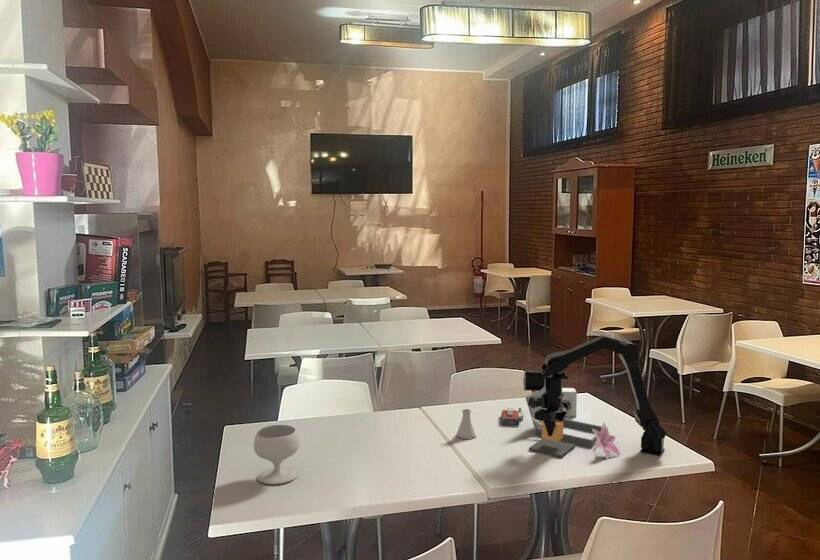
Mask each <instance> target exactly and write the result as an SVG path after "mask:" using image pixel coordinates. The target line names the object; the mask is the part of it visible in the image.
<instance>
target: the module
mask: <svg viewBox="0 0 820 560" xmlns="http://www.w3.org/2000/svg"><path fill="white" fill-rule="evenodd" d="M563 434H564V426H563V421H559V420H557V423H556V425H555V428H554V431H553V434H552V436H548V433H547V430H546V426H545V423H544V421H542V436H541V439H542V438H543V439H548V440H552V441H556V442H558V441H560V442H561V439H562V438H563Z"/></svg>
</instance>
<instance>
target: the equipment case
mask: <svg viewBox="0 0 820 560" xmlns="http://www.w3.org/2000/svg"><path fill="white" fill-rule="evenodd" d="M543 393H545V386H544V388H543V389H541V391H537V390H535V391H533V392H532V393H531V394H529V395H527V396H525V401H526V403H527V404H526V405H527V407H528V411H529V413H530V417H531V421H532V424H533V427H534V430H535V436H540V437H542V421H541V420H536V419H534V413H535V412H537V411H538V410H540V409H544V408H541V406H540V407H535V408H531V407H530V406H529V405H528V403H529V402H528V400H529V398H530V397H534V396H535V397H537V396H542V394H543ZM545 410H547V409H546V408H545ZM563 427H568V428H569V427H570V428H573V429H578V430H583V431H587V432H593V430H592V429H595V430H597V431H599V432H601V428H602V426H601V425H596V424H592V423H588V422H582V421H577V420H573V419H567V418H564V419H563ZM607 429H608V430H609V427H607ZM593 433H594V432H593ZM597 439H598V438H597V437H596V435H594V436H593V437H592V438H591V439H589V438H586V437H582V436H577V435H572V434H567V433H563V438H562V439H561V440H560V442H565V443H569V444H573V445H580V446H584V447H588V448H593V447H594V444H595V442H596V441H597Z"/></svg>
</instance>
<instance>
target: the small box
mask: <svg viewBox="0 0 820 560" xmlns="http://www.w3.org/2000/svg"><path fill="white" fill-rule="evenodd" d="M562 393H564V396H563V397H562V400H567V401H569V402H570V403H571V409H570V410H569V411H568V410H566V408H562V409H563V411H566V412H567V414H566V416H565V417H577V400H578V397H577V396H578V395H577V393H578V392H577V391H576V389H575V388H574V387H562Z"/></svg>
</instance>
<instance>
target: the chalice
mask: <svg viewBox="0 0 820 560" xmlns="http://www.w3.org/2000/svg"><path fill="white" fill-rule="evenodd" d="M253 441H254V442H253V450H254V452H255V455H257V456H258V457H259V458H261V459H264V460H266V461H269V462H271V463H272V464H273V468H269V469H267V470H264V471H262V472H261V473H260V474H258V475H257V480H258V481H259V482H260V483H262V484H265V485H282V484H286V483H289V482H291V481H293V480H296V478H297V476H298V472H297V471H296V470H294V469H291V468H290V467H289V468H288V467H281V464H282V462H283V461H285V460H286V459H288V458H290V457H292V456H293V455H294V454H296V453H297V452H298V450H299V448H300V438H299V434H298V431H297V429H296V428H295V427H294V426H291V425H288V424H273V425H268V426H264V427H261V428H260V429H258V431H257V432H256V434H255V437H254V440H253Z"/></svg>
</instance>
